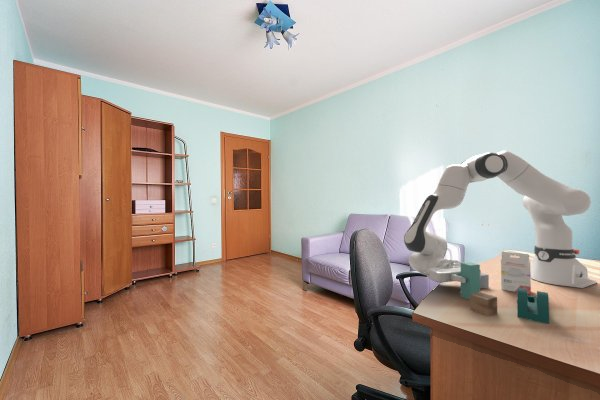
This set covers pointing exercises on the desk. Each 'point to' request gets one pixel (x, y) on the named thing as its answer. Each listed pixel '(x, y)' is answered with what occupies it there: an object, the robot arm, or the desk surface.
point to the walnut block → (483, 303)
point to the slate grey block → (484, 280)
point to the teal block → (470, 279)
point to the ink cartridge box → (515, 272)
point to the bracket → (533, 306)
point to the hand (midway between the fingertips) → (472, 279)
